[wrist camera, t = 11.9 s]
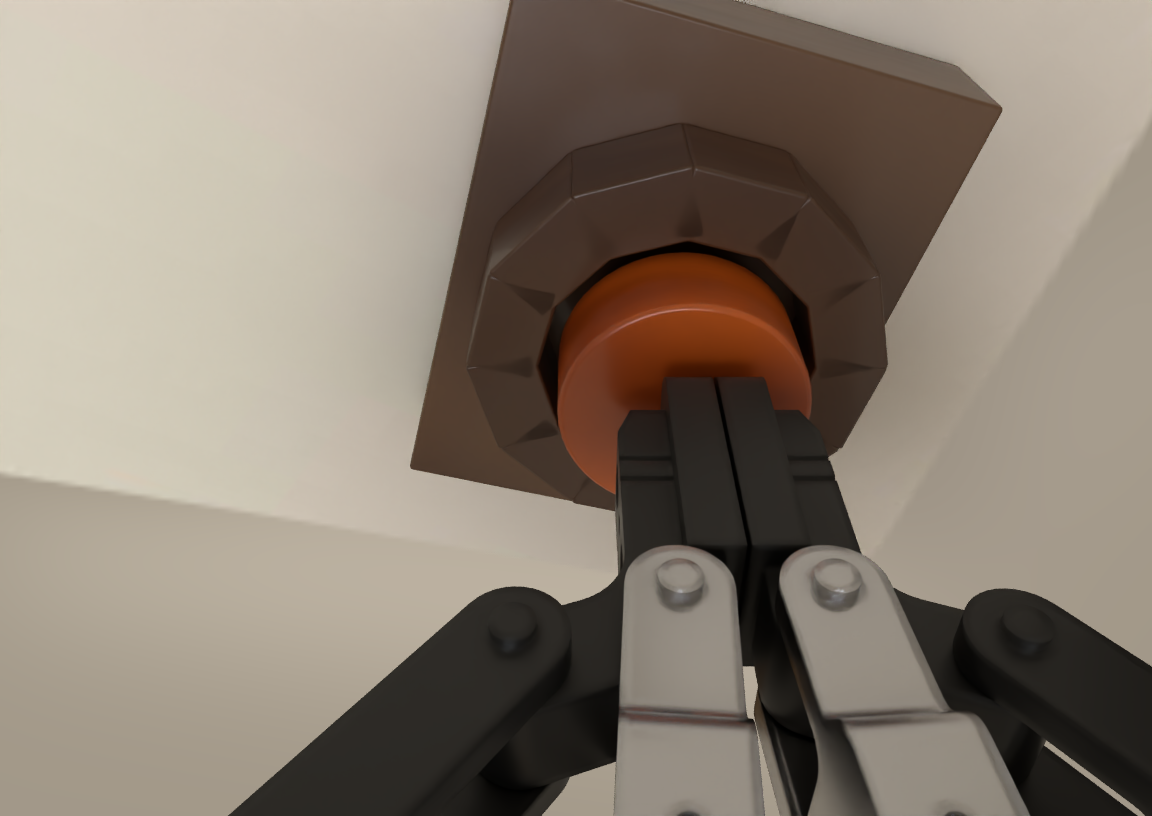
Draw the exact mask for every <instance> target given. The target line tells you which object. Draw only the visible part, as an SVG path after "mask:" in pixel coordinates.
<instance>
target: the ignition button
mask: <svg viewBox="0 0 1152 816" xmlns="http://www.w3.org/2000/svg"><path fill="white" fill-rule="evenodd" d="M664 377H712V378H713V379H714V377H764V378H765V380H766V383H767V387H768V391H769V394H770V398H771V401H772V405H773V408H774V410H800V411H801V412H802V414H803V415H804V416H805V417H806V418H807V419H808V420H809V417H810V414H811V406H812V386H811V382H810V377H809V373H808V370H807V367H806V364H805V362H804V359H803V356H802V353H801V350H800V347H799V345H798V342H797V339H796V336H795V333H794V331H793V328H792V325H791V322H790V319H789V317H788V315H787V312H786V310H785V307H784V306H783V304H782V302H781V301H780V299H779V298H778V296H777V295H776V294H775V292H774V291H773V290H772V289H771V288H770V287H769V285H768V284H766V283H765V282H764V281H763V280H762V279H761V278H760V277H758V276H757V275H756V274H754V273H752V272H751V271H749V270H748V269H746V268H745V267H742V266H740V265H738V264H736V263H734V262H732V261H729V260H726V259H723V258H720V257H716V256H712V255H707V254H701V253H688V252H678V253H665V254H659V255H654V256H649V257H646V258H642V259H639V260H636V261H633V262H631V263H629V264H626V265H624V266H622V267H620V268H618V269H616V270H615V271H613V272H611V273H610V274H608V275H606V276H605V277H604V278H602V279H601V280H600V281H598V282H597V283H596V284H595V285H593V286H592V287H591V288H590V289H589V290H588V291H587V292H586V293H585V294H584V295H583V297H582V298H581V299H580V300H579V302H578V303H577V304H576V306H575V307H574V309H573V310H572V312H571V314H570V316H569V317H568V319H567V321H566V324H565V326H564V329H563V332H562V336H561V340H560V344H559V357H558V402H557V415H558V426H559V429H560V433H561V437H562V440H563V442H564V444H565V447H566V449H567V451H568V452H569V454H570V455H571V457H572V459H573V460H574V462H575V463H576V464H577V465H578V466H579V468H580V469H581V470H582V471H583V472H584V473H585V474H586V475H587V476H588V477H589V478H590V479H592V480H593V481H594V482H595V483H597V484H598V485H600V486H601V487H603V488H604V489H606V490H607V491H609V492H611V493H613V494H615V491H616V463H617V435H618V430H619V428H620V427H621V425H622V423H623V421H624V420H625V418H626V416H627V415H628V413H629V411H630V410H660V407H661V393H662V382H663V378H664Z"/></svg>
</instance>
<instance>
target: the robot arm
mask: <svg viewBox="0 0 1152 816" xmlns="http://www.w3.org/2000/svg"><path fill="white" fill-rule="evenodd" d="M615 516H616V533H617V535H616V536H617V552H618V576H617V577H616V579H615V580H614V581H613V582H612V583H611V584H610V585H609V586H608V587H607V588H605V589H604V590H602V591H601V592H600V593H597V594H595V595H594V596H591V597H589V598H586V599H583V600H580V601H577V602H572V603H569V604H566V605H561V604H560V603H559V602H558V601H557V600H556V599H554V598H553V597H551V596H550V595H548V594H546V593H544V592H542V591H539V590H536V589H533V588H527V587H504V588H499V589H495V590H492V591H490V592H487V593H485V594H483V595H481V596H479V597H477V598H476V599H475V600H474V601H472V602H471V603H469V604H468V605H467V606H466V607H465V608H464V609H463V610H461V611H460V612H459V613H458V614H457V615H456V616H455V617H454V618H453V619H451V620H450V621H449V622H448V623H447V624H446V625H444V626H443V627H442V628H441V629H440V630H439V631H438V632H436V633H435V634H434V635H433V636H432V637H431V638H430V639H429V640H427V641H426V642H425V643H424V644H423V645H422V646H421V647H419V648H418V649H417V650H416V651H415V652H414V653H413V654H411V655H410V656H409V657H408V658H407V659H406V660H405V661H403V662H402V663H401V664H400V665H399V666H398V667H397V668H396V669H394V670H393V671H392V672H391V673H390V674H389V675H388V676H387V677H385V678H384V679H383V680H382V681H381V682H380V683H378V684H377V685H376V686H375V687H374V688H373V689H372V690H371V691H370V692H368V693H367V694H366V695H365V696H364V697H363V698H361V699H360V700H359V701H358V702H357V703H356V704H355V705H353V706H352V707H351V708H350V709H349V710H348V711H347V712H345V713H344V714H343V715H342V716H341V717H340V718H339V719H338V720H336V721H335V722H334V723H333V724H332V725H331V726H330V727H328V728H327V729H326V730H325V731H324V732H323V733H322V734H321V735H319V736H318V737H317V738H316V739H315V740H314V741H313V742H312V743H310V744H309V745H308V746H307V747H306V748H305V749H303V750H302V751H301V752H300V753H299V754H298V755H297V756H295V757H294V758H293V759H292V760H291V761H290V762H289V763H288V764H286V765H285V766H284V767H283V768H282V769H281V770H280V771H278V772H277V773H276V774H275V775H274V776H273V777H272V778H270V779H269V780H268V781H267V782H266V783H265V784H264V785H263V786H261V787H260V788H259V789H258V790H257V791H256V792H255V793H253V794H252V795H251V796H250V797H249V798H248V799H247V800H245V801H244V802H243V803H242V804H241V805H240V806H239V807H237V808H236V809H235V810H234V811H233V812H232V813H231V814H229V815H228V816H542V814H543V813H544V812H545V811H546V810H547V809H548V807H549V806H550V805H551V804H552V803H553V801H554V800H555V799H556V798H557V797H558V796H559V794H560V793H561V792H562V790H563V789H564V788H565V786H566V784H567V782H568V780H569V777H571V776H574V775H577V774H579V773H583V772H586V771H589V770H592V769H595V768H598V767H601V766H604V765H607V764H610V763H613V762H616V774H615V798H614V816H765V810H764V800H763V789H762V778H761V767H760V756H759V746H758V736H757V730H758V734H759V737H760V741H761V745H762V749H763V753H764V756H765V760H766V764H767V768H768V771H769V775H770V779H771V783H772V787H773V790H774V794H775V798H776V801H777V806H778V810H779V813H780V816H1137V815H1136V814H1134V813H1133V812H1132V811H1130V810H1129V809H1128V808H1127V807H1125V806H1124V805H1123V804H1121V803H1120V802H1119V801H1117V800H1116V799H1115V798H1113V797H1112V796H1111V795H1109V794H1108V793H1106V792H1105V791H1104V790H1102V789H1101V788H1100V787H1099V786H1097V785H1096V784H1095V783H1093V782H1092V781H1091V780H1089V779H1088V778H1087V777H1085V776H1084V775H1083V774H1081V773H1080V772H1079V771H1077V770H1076V769H1075V768H1073V767H1072V766H1071V765H1069V764H1068V763H1067V762H1065V761H1064V760H1063V759H1061V758H1060V757H1059V756H1057V755H1056V754H1055V753H1053V752H1052V751H1051V750H1049V749H1048V748H1047V747H1045V746H1044V744H1045V742H1046V740H1047V741H1048V742H1050V743H1051V744H1052V745H1054V746H1055V747H1056V748H1058V749H1059V750H1060V751H1062V752H1063V753H1064V754H1066V755H1067V756H1068V757H1070V758H1071V759H1073V760H1074V761H1075V762H1077V763H1078V764H1079V765H1080V766H1082V767H1083V768H1084V769H1086V770H1087V771H1089V772H1090V773H1091V774H1093V775H1094V776H1095V777H1097V778H1098V779H1099V780H1101V781H1102V782H1103V783H1105V784H1106V785H1107V786H1109V787H1110V788H1111V789H1113V790H1114V791H1115V792H1117V793H1118V794H1119V795H1121V796H1122V797H1123V798H1125V799H1126V800H1127V801H1129V802H1130V803H1131V804H1133V805H1134V806H1135V807H1136V808H1138V809H1139V810H1140V811H1141V812H1142V813H1143V814H1144V815H1145V816H1152V667H1151V666H1150V665H1148V664H1147V663H1145V662H1144V661H1142V660H1141V659H1139V658H1137V657H1136V656H1134V655H1133V654H1131V653H1130V652H1128V651H1127V650H1125V649H1124V648H1122V647H1120V646H1119V645H1117V644H1116V643H1114V642H1113V641H1111V640H1109V639H1108V638H1106V637H1105V636H1103V635H1102V634H1100V633H1099V632H1097V631H1096V630H1094V629H1092V628H1091V627H1089V626H1088V625H1086V624H1085V623H1083V622H1082V621H1080V620H1079V619H1077V618H1075V617H1074V616H1072V615H1071V614H1069V613H1068V612H1066V611H1065V610H1063V609H1062V608H1060V607H1058V606H1057V605H1055V604H1053V603H1052V602H1050V601H1048V600H1046V599H1044V598H1042V597H1040V596H1037V595H1035V594H1031V593H1028V592H1025V591H1021V590H1016V589H993V590H987V591H985V592H982V593H979V594H978V595H976V596H975V597H973V598H972V599H971V600H970V601H969V602H968V604H967V606H966V607H965V610H961V609H957V608H953V607H949V606H945V605H941V604H937V603H933V602H929V601H926V600H921V599H919V598H915V597H912V596H909V595H907V594H905V593H903V592H901V591H899V590H897V589H895V588H893V587H892V585H891V582H890V581H889V579H888V577H887V575H886V574H885V573H884V572H883V570H882V569H881V568H880V567H879V566H878V565H877V564H876V563H874V562H873V561H872V560H870V559H869V558H867V557H866V556H864V555H862V554H861V551H860V548H859V545H858V542H857V539H856V536H855V533H854V530H853V527H852V525H851V522H850V519H849V516H848V513H847V510H846V507H845V504H844V501H843V498H842V495H841V492H840V489H839V486H838V483H837V481H835V474H834V471H833V468H832V465H831V462H830V461H828V453H827V450H826V448H825V445H824V442H823V439H822V436H821V433H820V431H819V430H818V429H817V428H816V427H815V426H814V425H813V424H812V423H811V422H810V421H809V420H808V419H807V418H806V417H805V416H804V415H803V414H802V412H801V411H800V410H774V408H773V405H772V401H771V398H770V394H769V391H768V387H767V383H766V380H765V378H764V377H714V379H713V378H712V377H664V378H663V382H662V393H661V407H660V410H630V411H629V413H628V415H627V416H626V418H625V420H624V421H623V423H622V425H621V427H620V428H619V430H618V435H617V463H616V491H615ZM743 666H754V667H755V672H756V678H757V683H758V690H757V696H756V701H755V706H754V717H755V722H756V726H757V730H756V726H755V722H754V720H753V719H749V718H748V717H747V712H746V703H745V690H744V678H743Z"/></svg>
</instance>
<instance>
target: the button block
mask: <svg viewBox="0 0 1152 816" xmlns="http://www.w3.org/2000/svg"><path fill="white" fill-rule="evenodd" d="M1001 112H1002V107H1001V106H1000V105H999V104H998V103H997V102H996V101H995V100H993V99H992V98H991V97H990V96H989V95H988V94H987V93H986V92H985V91H984V90H983V89H982V88H980V87H979V86H978V85H977V84H976V83H975V82H974V81H973V80H972V79H971V78H970V77H969V76H967V75H966V74H965V73H964V72H963V71H962V70H961V69H960V68H959V67H958V66H954V65H951V64H947V63H944V62H941V61H937V60H934V59H931V58H927V57H924V56H920V55H917V54H914V53H910V52H907V51H903V50H900V49H897V48H893V47H890V46H887V45H883V44H880V43H876V42H873V41H870V40H866V39H863V38H859V37H856V36H853V35H849V34H846V33H843V32H839V31H836V30H832V29H829V28H826V27H822V26H819V25H815V24H812V23H809V22H805V21H802V20H799V19H795V18H792V17H788V16H785V15H782V14H778V13H775V12H771V11H768V10H765V9H761V8H758V7H755V6H751V5H748V4H744V3H741V2H738V1H734V0H510V3H509V8H508V13H507V17H506V22H505V27H504V31H503V36H502V40H501V45H500V50H499V54H498V59H497V64H496V68H495V73H494V78H493V82H492V87H491V92H490V96H489V101H488V105H487V110H486V115H485V119H484V124H483V129H482V133H481V138H480V143H479V147H478V152H477V157H476V161H475V166H474V171H473V175H472V180H471V184H470V189H469V194H468V198H467V203H466V208H465V212H464V217H463V222H462V226H461V231H460V236H459V240H458V245H457V249H456V254H455V259H454V263H453V268H452V273H451V277H450V282H449V287H448V291H447V296H446V301H445V305H444V310H443V315H442V319H441V324H440V328H439V333H438V338H437V342H436V347H435V352H434V356H433V361H432V366H431V370H430V375H429V380H428V384H427V389H426V393H425V398H424V403H423V407H422V412H421V417H420V421H419V426H418V431H417V435H416V440H415V445H414V449H413V454H412V458H411V463H410V467H411V469H414V470H419V471H424V472H429V473H434V474H439V475H444V476H449V477H454V478H459V479H464V480H469V481H474V482H479V483H484V484H489V485H494V486H499V487H504V488H509V489H514V490H519V491H524V492H529V493H534V494H539V495H544V496H549V497H554V498H559V499H564V500H569V501H573V502H574V503H576V504H581V505H586V506H591V507H596V508H601V509H606V510H612V511H615V494H613V493H611V492H609V491H607V490H606V489H604V488H603V487H601V486H600V485H598V484H597V483H595V482H594V481H593V480H592V479H590V478H589V477H588V476H587V475H586V474H585V473H584V472H583V471H582V470H581V469H580V468H579V466H578V465H577V464H576V463H575V462H574V460H573V459H572V457H571V455H570V454H569V452H568V451H567V449H566V447H565V444H564V442H563V440H562V437H561V433H560V429H559V426H558V415H557V402H558V357H559V344H560V340H561V336H562V332H563V329H564V326H565V324H566V321H567V319H568V317H569V316H570V314H571V312H572V310H573V309H574V307H575V306H576V304H577V303H578V302H579V300H580V299H581V298H582V297H583V295H584V294H585V293H586V292H587V291H588V290H589V289H590V288H591V287H592V286H593V285H595V284H596V283H597V282H598V281H600V280H601V279H602V278H604V277H605V276H606V275H608V274H610V273H611V272H613V271H615V270H616V269H618V268H620V267H622V266H624V265H626V264H629V263H631V262H633V261H636V260H639V259H642V258H646V257H649V256H654V255H659V254H665V253H678V252H688V253H701V254H707V255H712V256H716V257H720V258H723V259H726V260H729V261H732V262H734V263H736V264H738V265H740V266H742V267H745V268H746V269H748V270H749V271H751V272H752V273H754V274H756V275H757V276H758V277H760V278H761V279H762V280H763V281H764V282H765V283H766V284H768V285H769V287H770V288H771V289H772V290H773V291H774V292H775V294H776V295H777V296H778V298H779V299H780V301H781V302H782V304H783V306H784V307H785V310H786V312H787V315H788V317H789V319H790V322H791V325H792V328H793V331H794V333H795V336H796V339H797V342H798V345H799V347H800V350H801V353H802V356H803V359H804V362H805V364H806V367H807V370H808V373H809V377H810V382H811V386H812V406H811V414H810V417H809V421H810V422H811V423H812V424H813V425H814V426H815V427H816V428H817V429H818V430H819V431H820V433H821V436H822V439H823V442H824V445H825V448H826V450H827V453H828V457H829V456H831V455H832V454H834V453H835V452H837V451H838V449H839V448H842V447H843V445H844V443H845V442H846V440H847V438H848V436H849V435H850V433H851V431H852V429H853V428H854V426H855V424H856V422H857V421H858V419H859V417H860V415H861V413H862V412H863V410H864V408H865V406H866V405H867V403H868V401H869V399H870V398H871V396H872V394H873V392H874V391H875V389H876V387H877V385H878V384H879V382H880V380H881V378H882V377H883V375H884V373H885V371H886V368H887V365H888V360H887V348H886V335H885V324H886V322H887V320H888V319H889V317H890V315H891V313H892V311H893V309H894V308H895V306H896V304H897V302H898V300H899V298H900V297H901V295H902V293H903V291H904V289H905V288H906V286H907V284H908V282H909V280H910V278H911V277H912V275H913V273H914V271H915V269H916V267H917V266H918V264H919V262H920V260H921V258H922V257H923V255H924V253H925V251H926V249H927V247H928V246H929V244H930V242H931V240H932V238H933V236H934V235H935V233H936V231H937V229H938V227H939V226H940V224H941V222H942V220H943V218H944V216H945V215H946V213H947V211H948V209H949V207H950V205H951V204H952V202H953V200H954V198H955V196H956V195H957V193H958V191H959V189H960V187H961V185H962V184H963V182H964V180H965V178H966V176H967V174H968V173H969V171H970V169H971V167H972V165H973V163H974V162H975V160H976V158H977V156H978V154H979V153H980V151H981V149H982V147H983V145H984V143H985V142H986V140H987V138H988V136H989V134H990V132H991V131H992V129H993V127H994V125H995V123H996V122H997V120H998V118H999V116H1000V114H1001Z"/></svg>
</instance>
